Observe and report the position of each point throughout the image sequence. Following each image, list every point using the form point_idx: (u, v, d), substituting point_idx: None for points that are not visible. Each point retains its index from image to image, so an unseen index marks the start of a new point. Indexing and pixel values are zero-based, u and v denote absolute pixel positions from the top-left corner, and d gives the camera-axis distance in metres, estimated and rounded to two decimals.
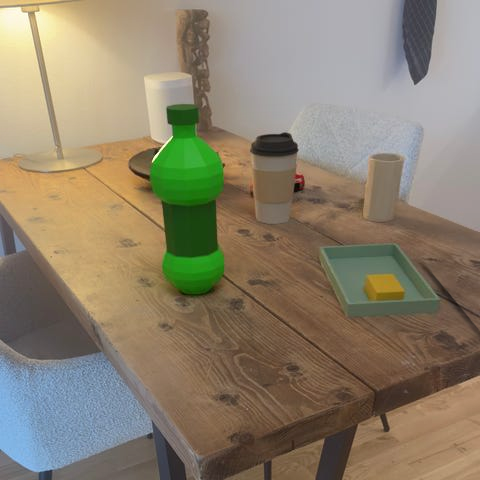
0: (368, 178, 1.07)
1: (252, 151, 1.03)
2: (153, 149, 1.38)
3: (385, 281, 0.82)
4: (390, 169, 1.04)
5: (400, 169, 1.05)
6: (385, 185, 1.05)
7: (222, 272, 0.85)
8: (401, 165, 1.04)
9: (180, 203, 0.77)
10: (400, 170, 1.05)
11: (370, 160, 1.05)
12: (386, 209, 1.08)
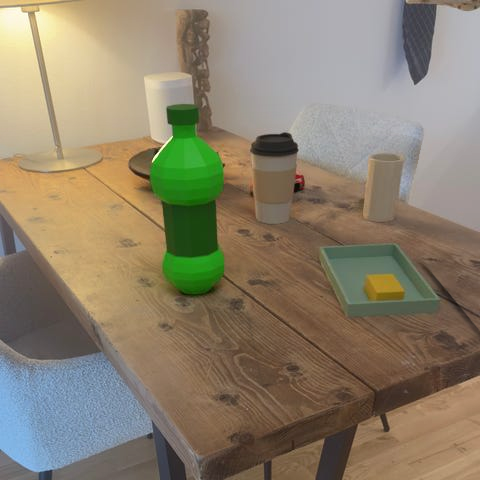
0: (368, 178, 1.07)
1: (252, 151, 1.03)
2: (153, 149, 1.38)
3: (385, 281, 0.82)
4: (390, 169, 1.04)
5: (400, 169, 1.05)
6: (385, 185, 1.05)
7: (222, 272, 0.85)
8: (401, 165, 1.04)
9: (180, 203, 0.77)
10: (400, 170, 1.05)
11: (370, 160, 1.05)
12: (386, 209, 1.08)
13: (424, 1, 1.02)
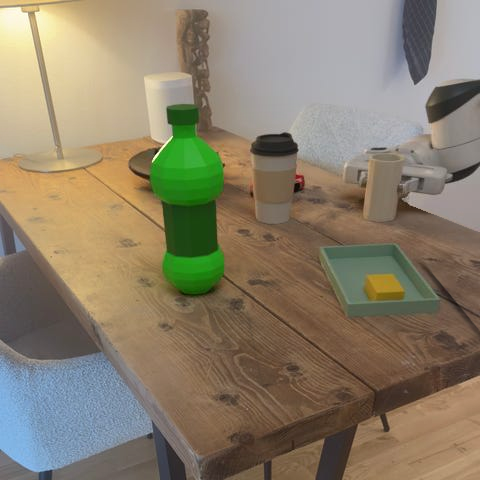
0: (368, 178, 1.07)
1: (252, 151, 1.03)
2: (153, 149, 1.38)
3: (385, 281, 0.82)
4: (390, 169, 1.04)
5: (400, 169, 1.05)
6: (385, 185, 1.05)
7: (222, 272, 0.85)
8: (401, 165, 1.04)
9: (180, 203, 0.77)
10: (400, 170, 1.05)
11: (370, 160, 1.05)
12: (386, 209, 1.08)
13: (364, 186, 1.10)
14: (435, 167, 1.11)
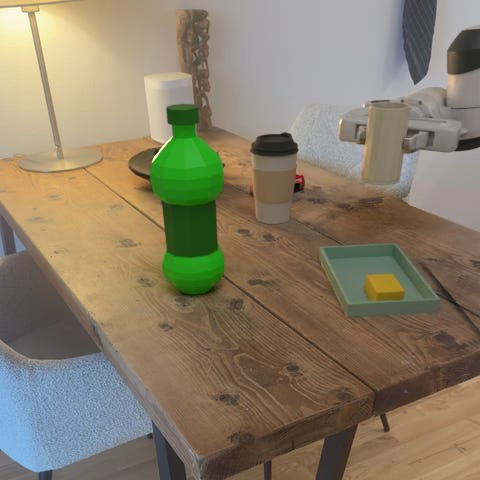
0: (368, 131, 0.89)
1: (252, 151, 1.03)
2: (153, 149, 1.38)
3: (385, 281, 0.82)
4: (394, 119, 0.86)
5: (406, 119, 0.87)
6: (388, 139, 0.88)
7: (222, 272, 0.85)
8: (407, 114, 0.86)
9: (180, 203, 0.77)
10: (406, 120, 0.87)
11: (370, 109, 0.87)
12: (389, 169, 0.90)
13: (362, 142, 0.92)
14: (448, 120, 0.93)
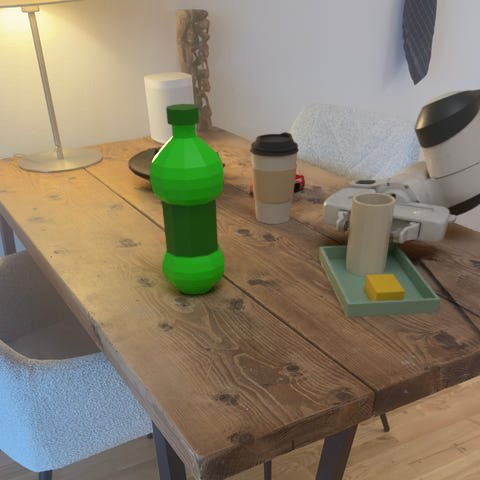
0: (351, 224, 0.86)
1: (252, 151, 1.03)
2: (153, 149, 1.38)
3: (385, 281, 0.82)
4: (378, 215, 0.83)
5: (390, 214, 0.84)
6: (372, 234, 0.85)
7: (222, 272, 0.85)
8: (392, 209, 0.83)
9: (180, 203, 0.77)
10: (390, 215, 0.84)
11: (353, 203, 0.84)
12: (373, 262, 0.87)
13: (341, 231, 0.89)
14: (435, 207, 0.90)
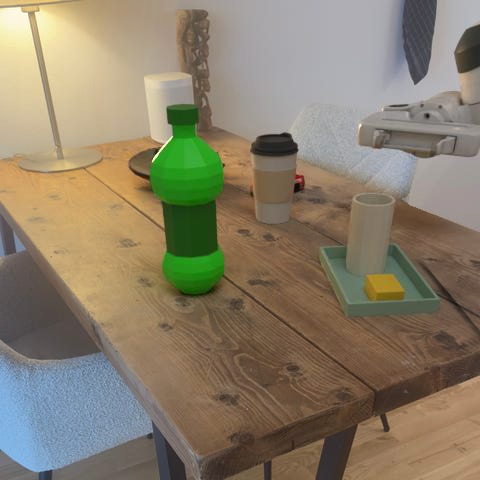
0: (351, 224, 0.86)
1: (252, 151, 1.03)
2: (153, 149, 1.38)
3: (385, 281, 0.82)
4: (378, 215, 0.83)
5: (390, 214, 0.84)
6: (372, 234, 0.85)
7: (222, 272, 0.85)
8: (392, 209, 0.83)
9: (180, 203, 0.77)
10: (390, 215, 0.84)
11: (353, 203, 0.84)
12: (373, 262, 0.87)
13: (378, 146, 0.91)
14: (469, 124, 0.92)
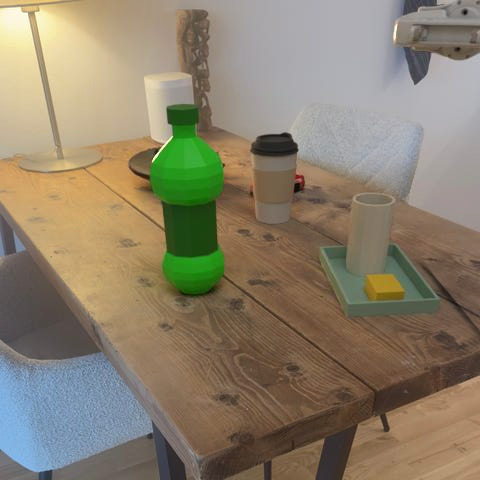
0: (351, 224, 0.86)
1: (252, 151, 1.03)
2: (153, 149, 1.38)
3: (385, 281, 0.82)
4: (378, 215, 0.83)
5: (390, 214, 0.84)
6: (372, 234, 0.85)
7: (222, 272, 0.85)
8: (392, 209, 0.83)
9: (180, 203, 0.77)
10: (390, 215, 0.84)
11: (353, 203, 0.84)
12: (373, 262, 0.87)
13: (416, 39, 0.90)
14: None
